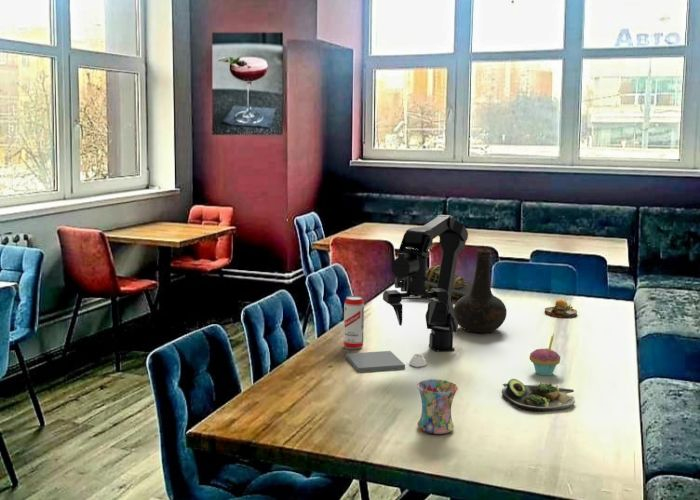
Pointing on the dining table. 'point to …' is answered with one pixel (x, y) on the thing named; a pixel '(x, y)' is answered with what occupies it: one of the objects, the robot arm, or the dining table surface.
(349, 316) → the beer can
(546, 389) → the salad plate
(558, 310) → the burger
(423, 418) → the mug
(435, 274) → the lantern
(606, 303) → the dining table surface
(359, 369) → the coaster
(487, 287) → the dark brown vase
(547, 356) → the cupcake
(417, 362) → the white jar
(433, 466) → the dining table surface
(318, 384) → the dining table surface
